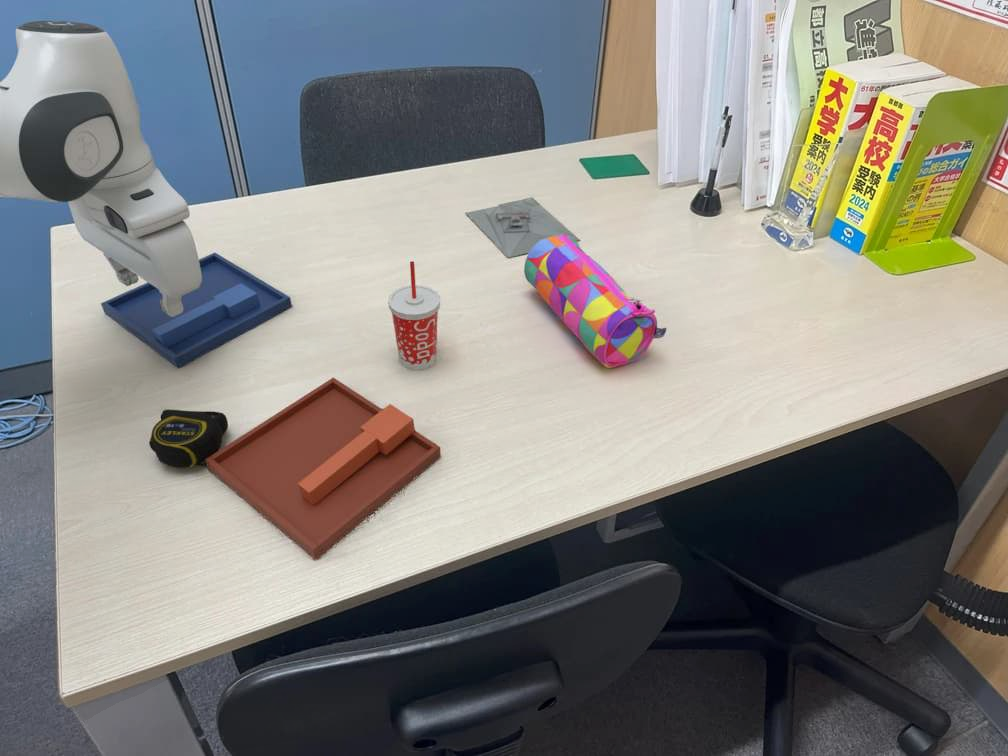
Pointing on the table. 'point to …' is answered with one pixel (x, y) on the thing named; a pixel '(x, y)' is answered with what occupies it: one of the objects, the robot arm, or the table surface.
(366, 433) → the rust stepped bar
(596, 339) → the pencil case
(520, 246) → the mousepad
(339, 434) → the rust tray
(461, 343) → the table surface
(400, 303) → the beverage cup
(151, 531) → the table surface
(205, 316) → the blue stepped bar
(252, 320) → the blue tray
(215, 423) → the tape measure
